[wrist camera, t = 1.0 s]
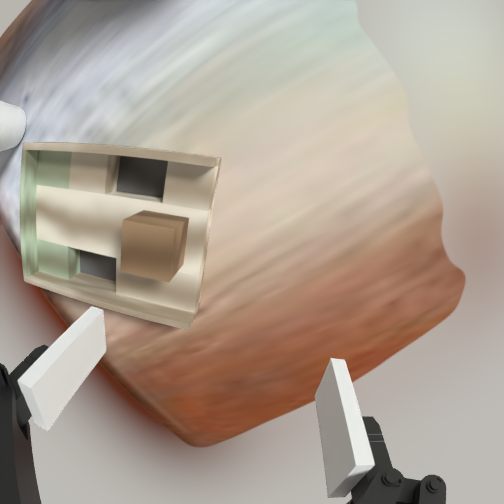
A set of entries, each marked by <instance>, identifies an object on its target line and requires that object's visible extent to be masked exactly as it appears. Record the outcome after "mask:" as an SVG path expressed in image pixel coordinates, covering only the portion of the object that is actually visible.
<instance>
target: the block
mask: <svg viewBox="0 0 504 504" xmlns="http://www.w3.org/2000/svg"><path fill="white" fill-rule="evenodd" d="M188 223H189V218H187V217H182V216H176V215H170V214H165V213H159V212H153V211H147V210H143V211H140V212H138V213H136V214H134V215H132V216H130V217H127V218H125V219H123V222H122V239H121V266H120V271H121V272H125V273H129V274H134V275H138V276H142V277H146V278H151V279H155V280H159V281H164V282H168V283H169V282H170V281H171V280H172V278H173V277H174V276H175V274H176V273H177V272H178V271H179V269H180V268H181V267H182V265H183V264H184V256H185V247H186V239H187V231H188Z"/></svg>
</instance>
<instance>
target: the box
mask: <svg viewBox="0 0 504 504" xmlns="http://www.w3.org/2000/svg"><path fill="white" fill-rule="evenodd" d="M220 164H221V158H218V157H211V156H205V155H198V154H190V153H183V152H175V151H167V150H158V149H149V148H139V147H128V146H116V145H103V144H86V143H64V142H35V143H23V150H22V161H21V177H20V236H21V252H22V264H23V273H24V281H25V282H27V283H30V284H33V285H36V286H38V287H41V288H44V289H47V290H50V291H52V292H55V293H58V294H61V295H64V296H67V297H70V298H73V299H76V300H80V301H83V302H86V303H89V304H92V305H96V306H99V307H102V308H106V309H109V310H112V311H116V312H119V313H123V314H127V315H130V316H134V317H138V318H141V319H145V320H149V321H153V322H157V323H161V324H165V325H169V326H173V327H177V328H182V329H186V330H189V328H190V326H191V324H192V322H193V320H194V317H195V315H196V313H197V311H198V309H199V306H200V298H201V290H202V283H203V275H204V267H205V260H206V253H207V246H208V239H209V232H210V225H211V219H212V212H213V206H214V200H215V194H216V187H217V181H218V175H219V170H220ZM121 191H122V192H121ZM128 192H129V193H128ZM135 193H136V194H135ZM141 194H142V195H141ZM154 196H155V197H154ZM160 197H161V198H160ZM143 210H147V211H153V212H159V213H165V214H170V215H176V216H182V217H187V218H189V223H188V231H187V239H186V247H185V256H184V264H183V265H182V267H181V268H180V269H179V271H178V272H177V273H176V274H175V276H174V277H173V278H172V280H171V281H170V282H169V283H168V282H164V281H159V280H155V279H151V278H146V277H142V276H138V275H134V274H129V273H125V272H121V271H120V266H121V239H122V222H123V219H125V218H127V217H130V216H132V215H134V214H136V213H138V212H140V211H143Z"/></svg>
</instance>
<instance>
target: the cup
mask: <svg viewBox="0 0 504 504" xmlns="http://www.w3.org/2000/svg"><path fill="white" fill-rule="evenodd" d="M25 128H26V116H25V113H24V111H23V109H22V108H21V107H18V106H15V105H13V104H9V103H7V102H4V101H1V100H0V151H3V150H7V149H10V148H13V147H15V146H16V145H18V144H19V142H20V141H21V139H22V137H23V135H24V132H25Z"/></svg>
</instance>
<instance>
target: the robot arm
mask: <svg viewBox="0 0 504 504" xmlns="http://www.w3.org/2000/svg"><path fill="white" fill-rule="evenodd" d="M105 352H106V340H105V327H104V310H102V309H99V308H96V307H93V306H91V307H90V308H89V309H88V310H87V311H86V312H85V313H84V314H83V315H82V316H81V317H80V318H79V319H78V320H77V321H76V322H74V323H73V324H72V325H71V326H70V327H69V328H68V329H67V330H66V331H65V332H64V333H63V334H62V335H61V336H60V337H59V338H58V339H57V340H56V341H55V342H54V343H53V344H52V345H51V346H50V347H48V346H46V345H42V346H41V347H38V348H36V349H34V351H32V352H31V353H30V354H29V356H27V357H26V358H25V359H24V361H22V362H21V363H20V364H19V365H18V366H17V367H16V368H15V369H14V370H13V372H11V373H10V375H9V374H8V371H7V369H6V368H5V366H4V365H2V364H1V363H0V504H41V500H40V496H39V491H38V486H37V480H36V474H35V468H34V462H33V454H32V446H31V436H30V425H29V422H28V420H29V419H30V417H31V416H32V418H33V420H34V422H35V424H36V425H38V426H40V427H42V428H44V429H45V430H47V431H49V429H50V428H51V426H52V425H53V424H54V422H55V421H56V419H57V418H58V416H59V415H60V413H61V412H62V411H63V409H64V408H65V406H66V405H67V403H68V402H69V401H70V399H71V398H72V397H73V395H74V394H75V392H76V391H77V390H78V388H79V387H80V386H81V384H82V383H83V381H84V380H85V379H86V377H87V376H88V374H89V373H90V372H91V371H92V369H93V368H94V366H95V365H96V364H97V363H98V361H99V360H100V359H101V357H102V356H103V355H104V353H105ZM315 401H316V408H317V415H318V422H319V429H320V436H321V444H322V451H323V460H324V468H325V476H326V485H327V493H328V498H334V497H345V496H346V495H347V494H348V493H349V492H350V491H351V495H352V499H351V500H350V501H349V502H348V503H347V504H446V484H445V482H444V481H443V480H442V478H440V477H439V476H436V475H428V476H425V477H424V478H423V479H422V480H421V481H420V480H413V479H407V478H404V477H403V475H402V474H401V473H400V472H399V471H398V470H396V469H394V468H393V467H392V464H391V461H390V458H389V454H388V451H387V448H386V445H385V442H384V438H383V435H382V432H381V429H380V426H379V424H378V423H377V422H376V421H375V419H374V418H373V417H362V415H361V412H360V408H359V405H358V402H357V398H356V395H355V392H354V388H353V385H352V382H351V378H350V375H349V372H348V369H347V366H346V362H345V360H342V359H334V358H331V359H330V361H329V364H328V366H327V369H326V371H325V373H324V376H323V378H322V381H321V383H320V385H319V387H318V390H317V392H316V394H315Z"/></svg>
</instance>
